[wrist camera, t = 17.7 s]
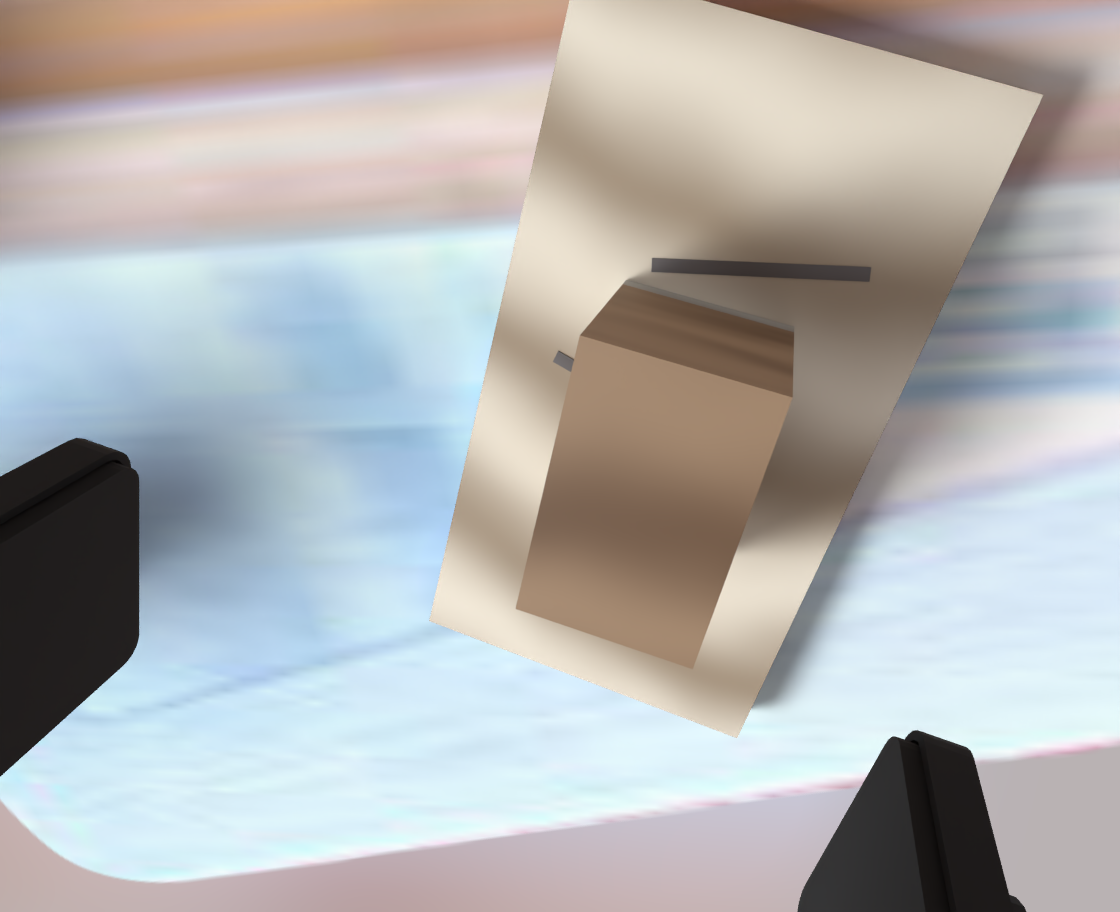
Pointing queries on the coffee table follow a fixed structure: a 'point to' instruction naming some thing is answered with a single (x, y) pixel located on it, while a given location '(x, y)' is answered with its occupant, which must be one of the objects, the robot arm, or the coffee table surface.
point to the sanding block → (656, 468)
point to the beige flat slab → (723, 292)
